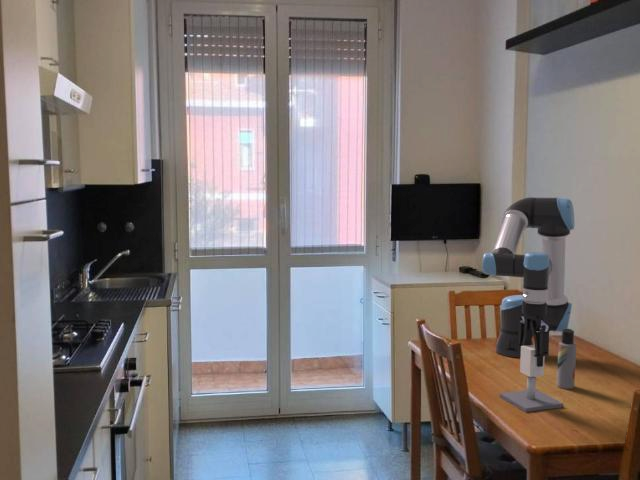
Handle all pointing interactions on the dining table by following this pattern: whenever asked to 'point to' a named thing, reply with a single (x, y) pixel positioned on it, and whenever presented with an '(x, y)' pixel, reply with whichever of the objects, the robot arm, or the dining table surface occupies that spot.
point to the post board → (531, 403)
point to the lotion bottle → (566, 360)
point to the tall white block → (528, 360)
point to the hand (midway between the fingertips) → (531, 373)
